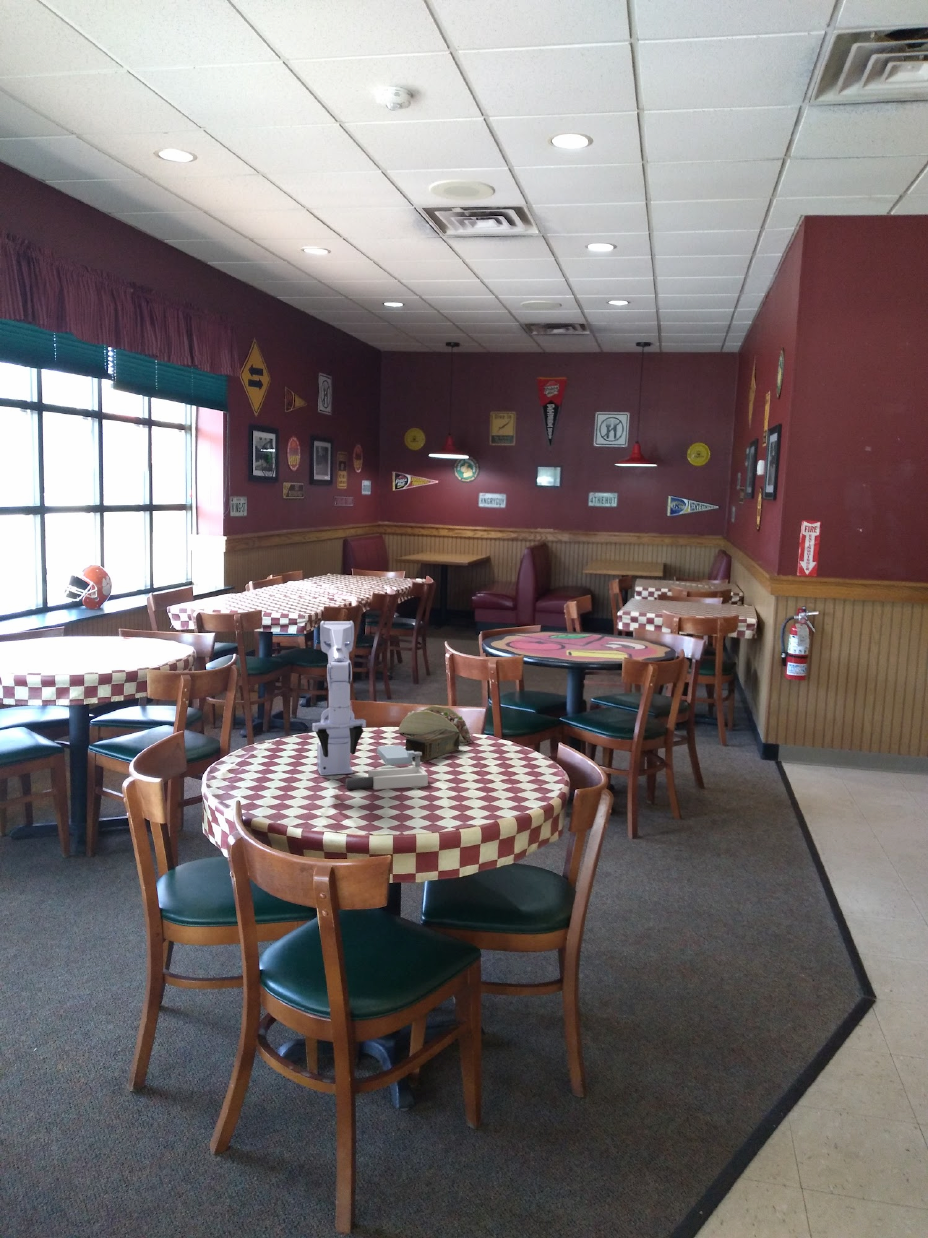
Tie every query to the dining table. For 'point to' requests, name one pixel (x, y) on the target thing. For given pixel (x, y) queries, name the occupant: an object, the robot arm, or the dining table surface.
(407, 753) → the cover
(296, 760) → the dining table surface
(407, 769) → the duct
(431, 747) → the brown box-shaped piece
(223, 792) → the dining table surface
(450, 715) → the taco
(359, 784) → the dark grey cylinder
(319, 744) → the robot arm
